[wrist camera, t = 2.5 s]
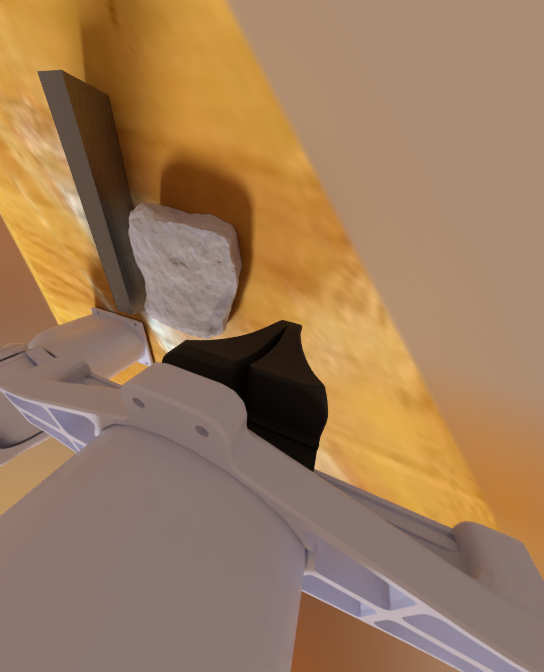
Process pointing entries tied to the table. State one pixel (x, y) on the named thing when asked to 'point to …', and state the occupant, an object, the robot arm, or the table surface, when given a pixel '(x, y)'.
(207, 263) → the stone block
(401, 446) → the table surface
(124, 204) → the bar
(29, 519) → the robot arm
